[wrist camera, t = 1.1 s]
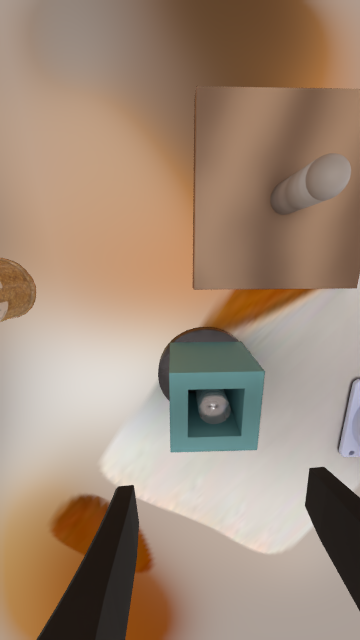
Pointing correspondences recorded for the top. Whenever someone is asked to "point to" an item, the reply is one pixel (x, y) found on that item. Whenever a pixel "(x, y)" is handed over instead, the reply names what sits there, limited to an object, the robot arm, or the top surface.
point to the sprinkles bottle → (15, 290)
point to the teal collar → (214, 373)
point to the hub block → (276, 188)
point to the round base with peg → (209, 400)
